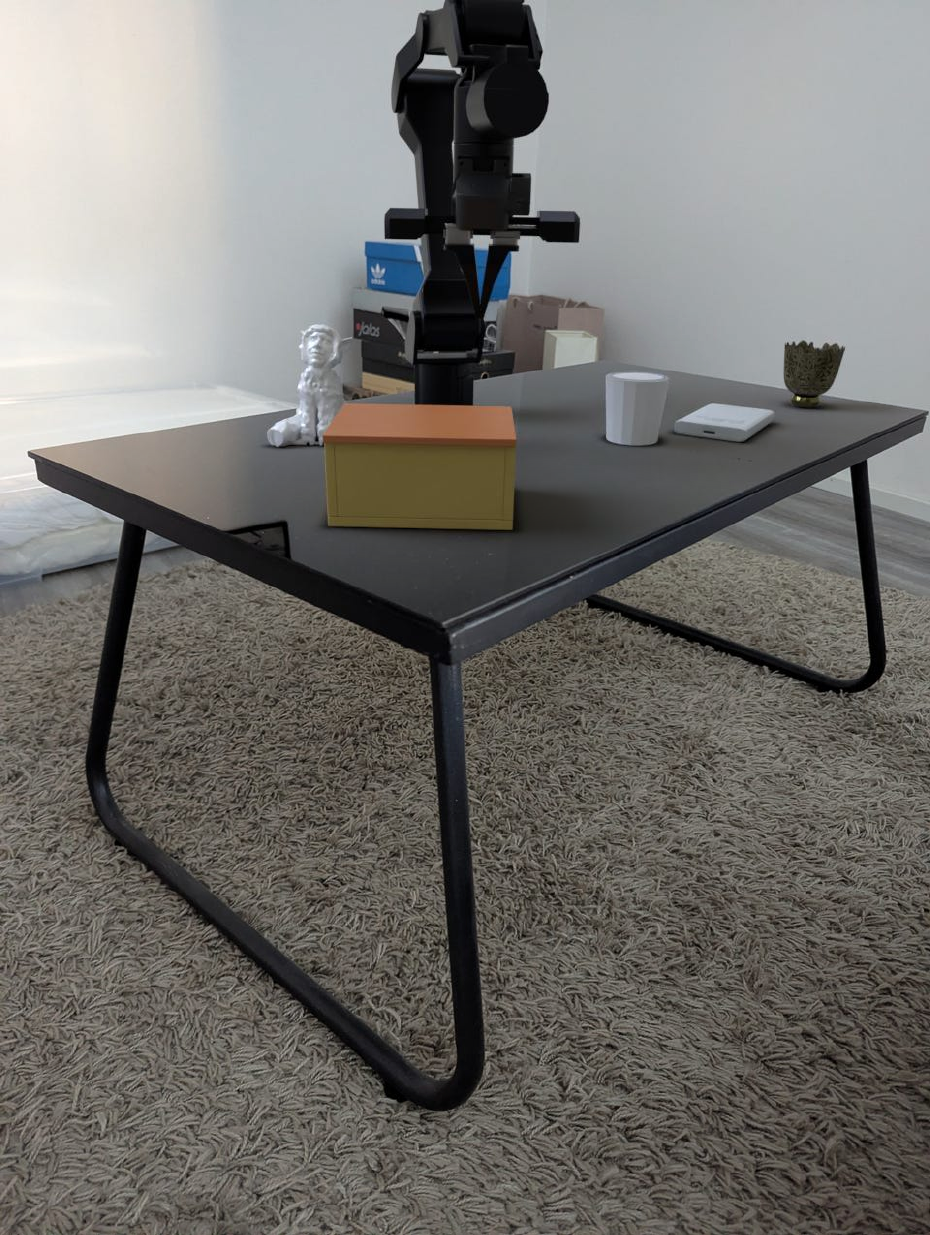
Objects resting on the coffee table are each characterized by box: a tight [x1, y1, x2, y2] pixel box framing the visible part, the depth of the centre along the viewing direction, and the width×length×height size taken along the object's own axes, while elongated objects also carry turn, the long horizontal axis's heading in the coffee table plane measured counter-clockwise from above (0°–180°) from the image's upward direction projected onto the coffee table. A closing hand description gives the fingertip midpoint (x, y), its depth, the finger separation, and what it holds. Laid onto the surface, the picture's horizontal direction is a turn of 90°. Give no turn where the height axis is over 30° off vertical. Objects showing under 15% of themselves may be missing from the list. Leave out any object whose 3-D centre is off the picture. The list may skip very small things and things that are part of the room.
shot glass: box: [605, 370, 671, 446], centre depth 99 cm, size 7×7×7 cm
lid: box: [322, 402, 518, 448], centre depth 73 cm, size 12×15×1 cm
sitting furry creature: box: [266, 323, 354, 448], centre depth 95 cm, size 10×9×12 cm
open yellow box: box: [323, 443, 517, 531], centre depth 75 cm, size 12×15×7 cm
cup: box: [783, 339, 846, 409], centre depth 118 cm, size 8×7×8 cm
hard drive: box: [673, 402, 775, 443], centre depth 106 cm, size 2×8×12 cm
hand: (479, 318), depth 91 cm, fingers closed
